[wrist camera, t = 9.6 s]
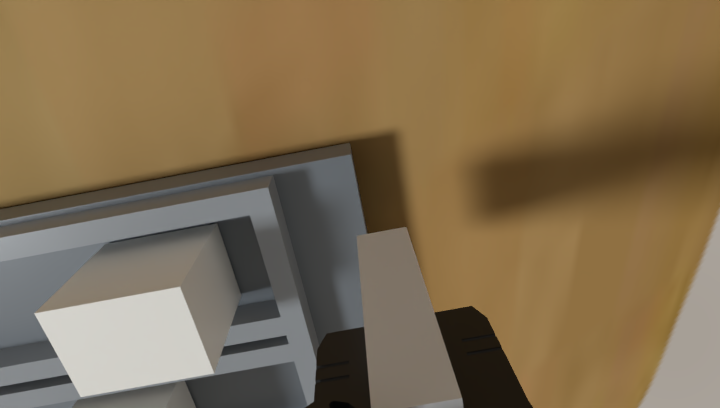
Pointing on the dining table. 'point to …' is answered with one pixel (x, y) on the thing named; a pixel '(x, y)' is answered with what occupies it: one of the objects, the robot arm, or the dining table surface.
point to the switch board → (247, 257)
